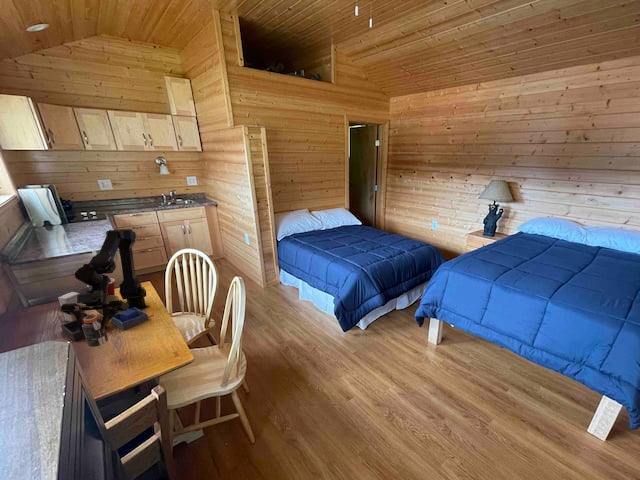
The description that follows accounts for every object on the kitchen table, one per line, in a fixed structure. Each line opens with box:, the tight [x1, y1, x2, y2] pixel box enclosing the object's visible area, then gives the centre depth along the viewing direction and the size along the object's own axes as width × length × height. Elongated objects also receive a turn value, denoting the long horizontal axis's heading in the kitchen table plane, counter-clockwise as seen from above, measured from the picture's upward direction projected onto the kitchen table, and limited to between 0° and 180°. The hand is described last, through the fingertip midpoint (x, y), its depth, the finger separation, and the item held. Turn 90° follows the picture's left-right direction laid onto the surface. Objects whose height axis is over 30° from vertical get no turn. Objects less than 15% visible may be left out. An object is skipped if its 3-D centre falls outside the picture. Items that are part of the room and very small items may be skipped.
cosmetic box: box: [57, 291, 87, 322], centre depth 134 cm, size 6×4×12 cm
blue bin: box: [110, 307, 149, 331], centre depth 137 cm, size 10×10×4 cm
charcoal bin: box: [60, 313, 108, 342], centre depth 128 cm, size 11×11×4 cm
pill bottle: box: [82, 314, 109, 348], centre depth 111 cm, size 6×6×11 cm
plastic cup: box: [86, 277, 116, 296], centre depth 148 cm, size 11×11×12 cm
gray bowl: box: [95, 294, 120, 316], centre depth 141 cm, size 10×10×7 cm
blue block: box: [119, 309, 138, 322], centre depth 136 cm, size 4×4×4 cm
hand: (91, 330), depth 109 cm, fingers closed on pill bottle, 6 cm apart
